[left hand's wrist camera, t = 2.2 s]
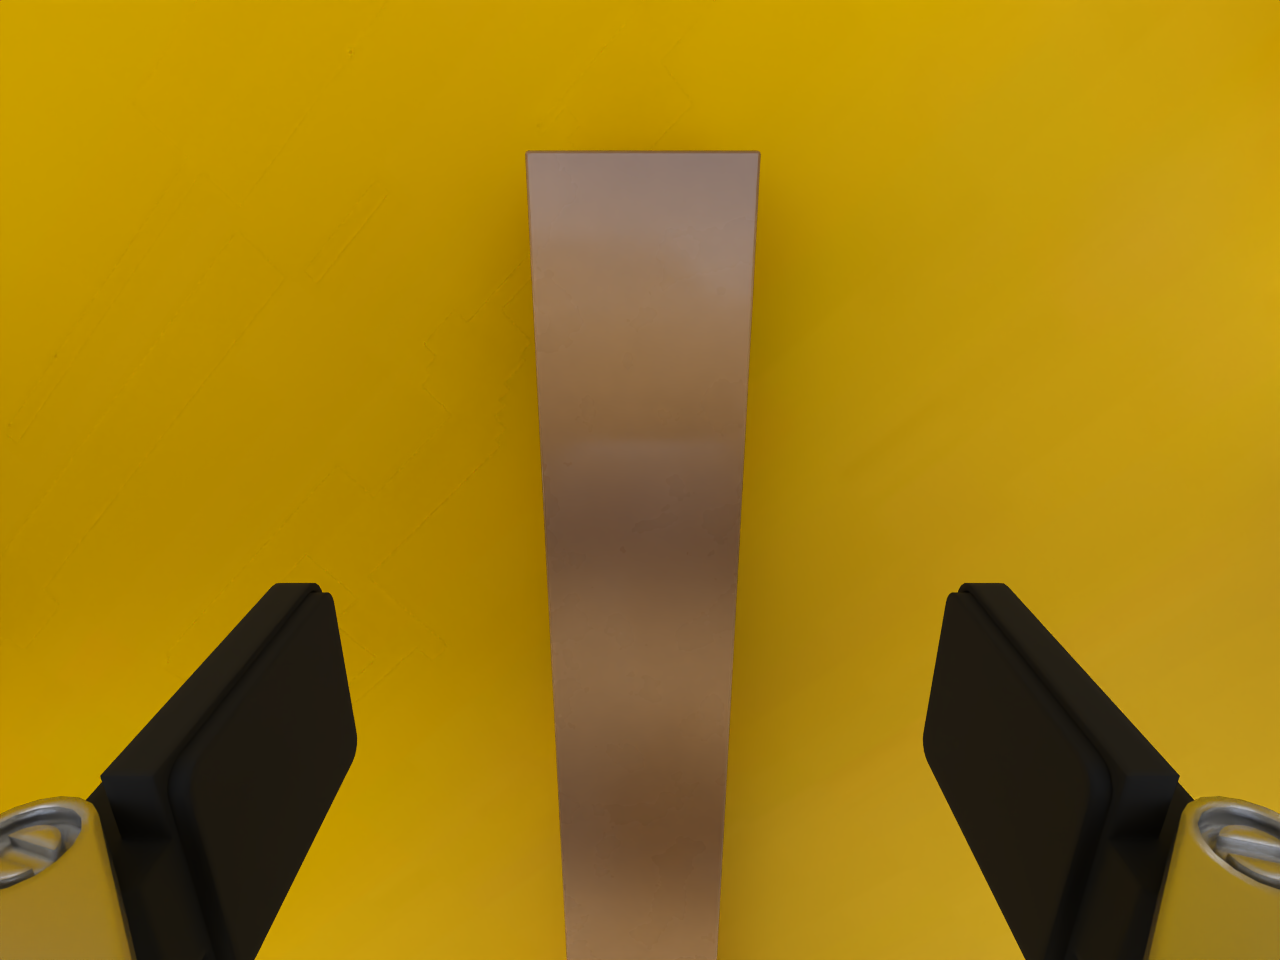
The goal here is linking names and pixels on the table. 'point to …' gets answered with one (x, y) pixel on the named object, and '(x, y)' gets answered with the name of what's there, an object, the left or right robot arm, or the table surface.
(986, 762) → the left robot arm
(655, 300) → the post
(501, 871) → the table surface
